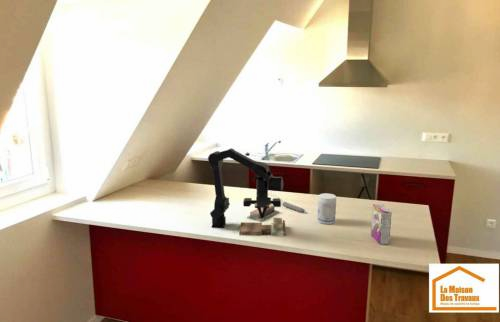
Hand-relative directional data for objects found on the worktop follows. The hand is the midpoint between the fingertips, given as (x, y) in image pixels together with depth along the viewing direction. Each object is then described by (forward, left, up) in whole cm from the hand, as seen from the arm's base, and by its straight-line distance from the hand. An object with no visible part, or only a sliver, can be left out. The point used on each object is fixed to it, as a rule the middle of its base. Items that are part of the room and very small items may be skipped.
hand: (262, 218), depth 190 cm
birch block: (+8, 0, -5) cm, 9 cm away
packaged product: (0, +22, -7) cm, 23 cm away
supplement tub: (+35, +14, -7) cm, 38 cm away
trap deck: (0, 0, -7) cm, 7 cm away
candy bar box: (+57, -9, -7) cm, 58 cm away
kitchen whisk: (+13, +38, -7) cm, 40 cm away
